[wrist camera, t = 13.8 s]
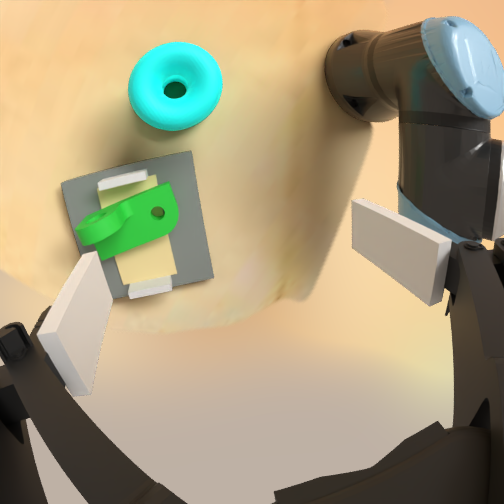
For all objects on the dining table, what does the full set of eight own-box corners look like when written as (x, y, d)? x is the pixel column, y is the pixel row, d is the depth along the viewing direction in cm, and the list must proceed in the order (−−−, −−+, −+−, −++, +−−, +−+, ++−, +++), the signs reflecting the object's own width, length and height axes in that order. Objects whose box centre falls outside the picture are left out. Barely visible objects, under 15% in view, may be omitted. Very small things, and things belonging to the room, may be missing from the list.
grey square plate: (190, 150, 40) (193, 153, 35) (212, 272, 47) (217, 287, 43) (65, 180, 37) (53, 187, 32) (99, 295, 44) (93, 312, 39)
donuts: (161, 149, 30) (108, 76, 25) (164, 145, 39) (123, 88, 34) (242, 95, 30) (191, 22, 25) (227, 103, 39) (186, 46, 34)
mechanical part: (104, 255, 40) (92, 281, 33) (86, 215, 37) (69, 235, 30) (184, 223, 41) (187, 244, 34) (169, 181, 38) (167, 192, 31)
